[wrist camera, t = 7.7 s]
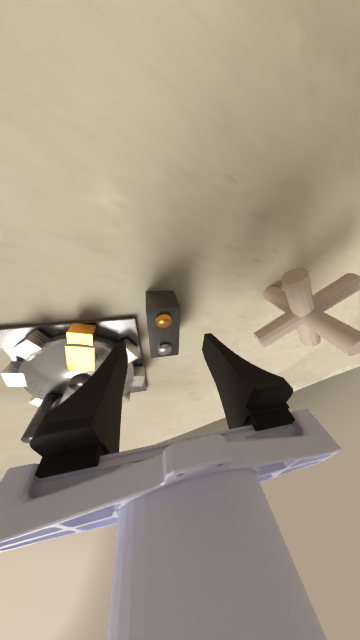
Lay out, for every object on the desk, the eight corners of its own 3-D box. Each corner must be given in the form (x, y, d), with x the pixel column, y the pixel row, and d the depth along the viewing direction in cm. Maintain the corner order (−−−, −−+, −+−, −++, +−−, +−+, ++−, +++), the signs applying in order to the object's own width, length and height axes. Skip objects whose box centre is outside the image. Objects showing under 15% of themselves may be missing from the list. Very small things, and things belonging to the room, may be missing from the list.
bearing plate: (-9, 328, 15) (-13, 331, 15) (135, 316, 18) (134, 319, 17) (52, 402, 23) (50, 405, 23) (146, 387, 25) (146, 390, 25)
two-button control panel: (145, 291, 16) (146, 311, 13) (173, 290, 17) (180, 308, 13) (149, 334, 20) (151, 360, 16) (172, 332, 20) (178, 356, 17)
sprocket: (-21, 366, 17) (-92, 430, 12) (84, 298, 15) (53, 340, 10) (87, 412, 25) (73, 461, 20) (164, 372, 23) (169, 415, 18)
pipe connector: (249, 335, 23) (305, 400, 15) (219, 290, 18) (282, 350, 10) (313, 295, 21) (418, 344, 13) (300, 229, 16) (467, 241, 8)
